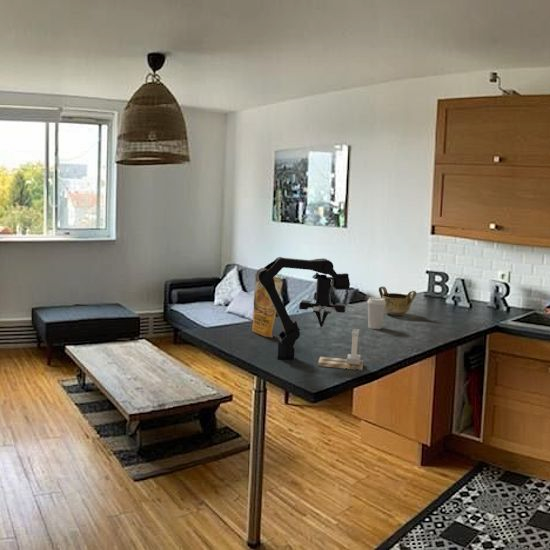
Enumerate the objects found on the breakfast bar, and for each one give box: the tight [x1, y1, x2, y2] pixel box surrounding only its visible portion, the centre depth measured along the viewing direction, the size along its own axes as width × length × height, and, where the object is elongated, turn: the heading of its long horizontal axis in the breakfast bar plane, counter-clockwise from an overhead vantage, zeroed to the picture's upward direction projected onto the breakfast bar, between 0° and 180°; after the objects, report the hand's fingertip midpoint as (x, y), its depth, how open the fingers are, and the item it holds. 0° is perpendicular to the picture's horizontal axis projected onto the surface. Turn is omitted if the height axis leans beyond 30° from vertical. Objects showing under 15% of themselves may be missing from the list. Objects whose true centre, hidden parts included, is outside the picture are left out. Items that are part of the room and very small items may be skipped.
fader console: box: [317, 356, 364, 371], centre depth 245 cm, size 18×8×2 cm, turn 80°
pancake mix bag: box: [251, 273, 284, 338], centre depth 287 cm, size 7×19×28 cm, turn 36°
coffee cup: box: [366, 296, 386, 330], centre depth 311 cm, size 10×10×15 cm
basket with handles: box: [378, 286, 417, 317], centre depth 346 cm, size 22×17×15 cm
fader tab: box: [346, 328, 361, 365], centre depth 243 cm, size 5×7×13 cm
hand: (321, 326), depth 253 cm, fingers closed
